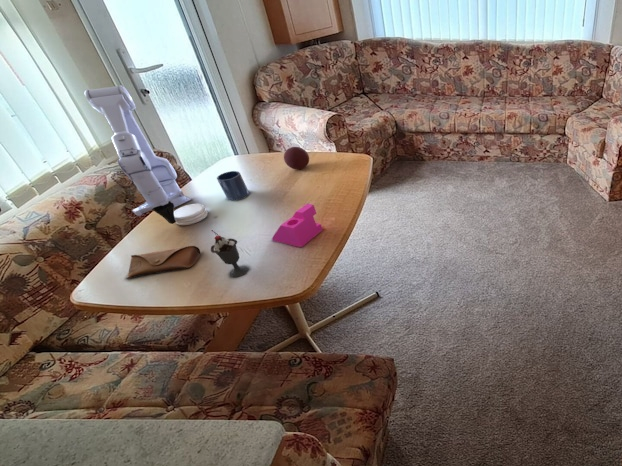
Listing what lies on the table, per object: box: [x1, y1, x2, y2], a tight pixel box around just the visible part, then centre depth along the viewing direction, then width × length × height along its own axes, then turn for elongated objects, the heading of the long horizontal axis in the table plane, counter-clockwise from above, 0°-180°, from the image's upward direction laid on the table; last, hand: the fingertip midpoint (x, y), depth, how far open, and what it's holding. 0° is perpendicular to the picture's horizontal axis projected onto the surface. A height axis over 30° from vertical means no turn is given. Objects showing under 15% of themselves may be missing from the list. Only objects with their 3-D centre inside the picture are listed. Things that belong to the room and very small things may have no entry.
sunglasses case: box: [125, 245, 201, 280], centre depth 117 cm, size 18×7×7 cm, turn 107°
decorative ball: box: [283, 146, 310, 170], centre depth 168 cm, size 10×10×10 cm
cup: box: [216, 170, 250, 202], centre depth 150 cm, size 8×8×9 cm
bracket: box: [271, 203, 324, 248], centre depth 126 cm, size 12×10×10 cm
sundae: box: [210, 229, 249, 278], centre depth 110 cm, size 7×7×15 cm
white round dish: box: [174, 203, 209, 226], centre depth 138 cm, size 10×10×4 cm
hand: (172, 222), depth 134 cm, fingers closed
